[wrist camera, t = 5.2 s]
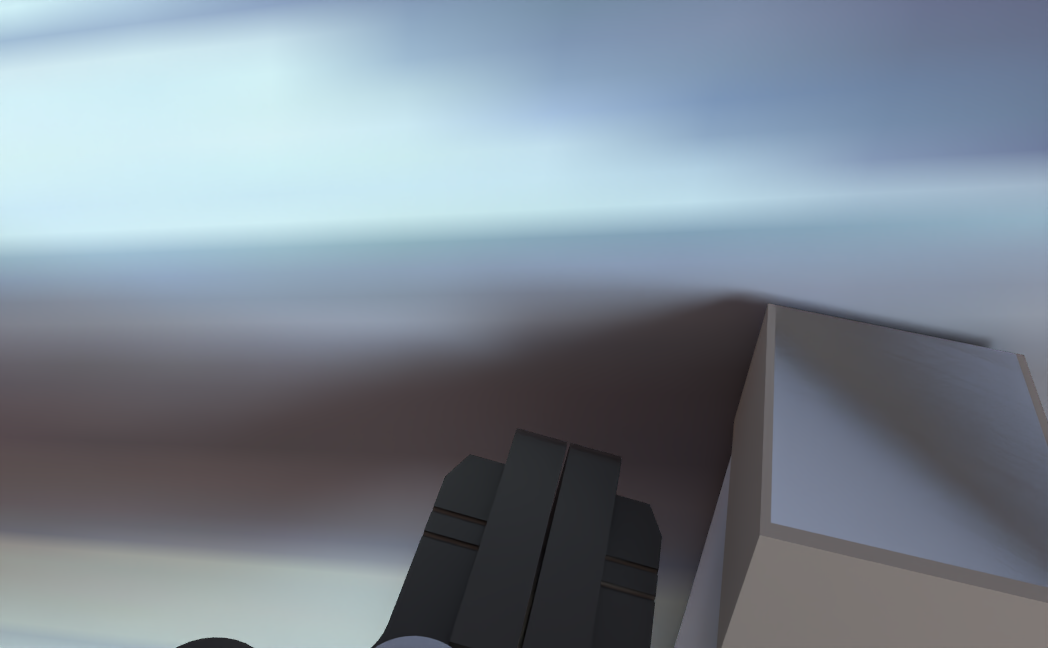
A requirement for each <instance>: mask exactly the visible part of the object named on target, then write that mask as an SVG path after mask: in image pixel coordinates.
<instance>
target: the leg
mask: <svg viewBox="0 0 1048 648" xmlns="http://www.w3.org/2000/svg"><path fill="white" fill-rule="evenodd" d="M674 648H1048V421H1047V419H1046V416H1045V413H1044V410H1043V407H1042V404H1041V402H1040V399H1039V396H1038V393H1037V390H1036V388H1035V385H1034V382H1033V379H1032V376H1031V373H1030V371H1029V368H1028V365H1027V362H1026V359H1025V357H1024V355H1020V354H1016V353H1011V352H1006V351H1001V350H996V349H991V348H986V347H981V346H976V345H971V344H966V343H961V342H956V341H951V340H947V339H942V338H937V337H932V336H927V335H922V334H917V333H912V332H907V331H902V330H897V329H892V328H887V327H882V326H878V325H873V324H868V323H863V322H858V321H853V320H848V319H843V318H838V317H833V316H828V315H823V314H818V313H813V312H809V311H804V310H799V309H794V308H789V307H784V306H779V305H774V304H769V303H768V306H767V309H766V312H765V316H764V319H763V323H762V326H761V330H760V333H759V337H758V340H757V343H756V347H755V350H754V354H753V357H752V361H751V364H750V367H749V371H748V374H747V378H746V381H745V385H744V388H743V392H742V395H741V398H740V402H739V405H738V409H737V412H736V416H735V419H734V429H733V442H732V454H731V458H730V461H729V465H728V468H727V471H726V475H725V478H724V481H723V485H722V488H721V492H720V495H719V498H718V502H717V505H716V508H715V512H714V515H713V519H712V522H711V525H710V529H709V532H708V535H707V539H706V542H705V545H704V549H703V552H702V556H701V559H700V562H699V566H698V569H697V572H696V576H695V579H694V583H693V586H692V589H691V593H690V596H689V599H688V603H687V606H686V610H685V613H684V616H683V620H682V623H681V626H680V630H679V633H678V637H677V640H676V643H675V647H674Z"/></svg>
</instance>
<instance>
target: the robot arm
mask: <svg viewBox="0 0 1048 648" xmlns="http://www.w3.org/2000/svg"><path fill="white" fill-rule="evenodd" d="M566 446H567V442H565V441H561V440H558V439H554V438H551V437H547V436H543V435H540V434H536V433H533V432H529V431H525V430H522V429H518V428H517V430H516V433H515V436H514V439H513V442H512V446H511V449H510V452H509V455H508V458H507V461H506V464H502V463H499V462H495V461H491V460H488V459H484V458H481V457H477V456H474V455H469V456H468V457H467V458H466V459H465V460H463V461H462V462H461V463H460V464H459V465H458V466H457V467H455V468H454V469H453V470H452V471H451V472H450V473H449V474H447V475H446V476H445V479H444V481H443V484H442V486H441V489H440V491H439V494H438V497H437V499H436V502H435V504H434V508H433V511H432V512H431V515H430V517H429V520H428V522H427V525H426V527H425V530H424V534H423V536H422V538H421V540H420V543H419V545H418V548H417V551H416V553H415V556H414V558H413V561H412V563H411V566H410V569H409V571H408V574H407V576H406V579H405V581H404V584H403V587H402V589H401V592H400V594H399V597H398V599H397V602H396V605H395V607H394V610H393V612H392V615H391V618H390V620H389V623H388V625H387V627H386V629H385V631H384V633H383V634H382V636H381V637H380V639H379V640H378V641H377V642H376V643H375V644H374V645H373V646H372V647H371V648H650V644H651V635H652V625H653V616H654V606H655V602H654V599H655V596H656V587H657V578H658V576H657V572H658V568H659V559H660V549H661V540H662V536H661V533H660V531H659V528H658V525H657V523H656V520H655V517H654V515H653V512H652V509H651V507H650V504H646V503H643V502H639V501H636V500H632V499H629V498H625V497H621V496H618V495H616V490H617V484H618V478H619V472H620V466H621V457H620V456H616V455H613V454H609V453H606V452H602V451H598V450H595V449H591V448H588V447H584V446H580V445H577V444H573V443H571V444H570V447H569V450H568V453H567V457H566V460H565V464H564V467H563V471H562V474H561V477H560V481H559V484H558V488H557V491H556V487H557V483H558V479H559V475H560V471H561V467H562V463H563V458H564V454H565V450H566ZM555 491H556V495H555ZM554 495H555V498H554ZM553 499H554V502H553ZM552 503H553V505H552ZM551 508H552V509H551ZM176 648H253V647H251V646H249V645H248V644H246V643H243V642H240V641H237V640H234V639H228V638H214V637H213V638H204V639H199V640H195V641H191V642H188V643H186V644H183V645H181V646H178V647H176Z"/></svg>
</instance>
